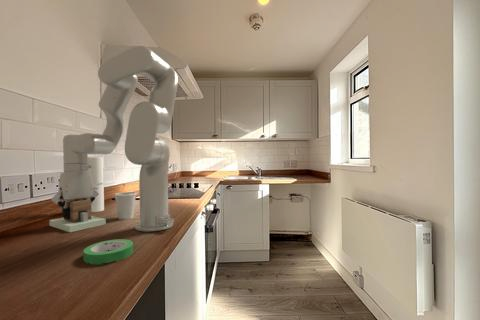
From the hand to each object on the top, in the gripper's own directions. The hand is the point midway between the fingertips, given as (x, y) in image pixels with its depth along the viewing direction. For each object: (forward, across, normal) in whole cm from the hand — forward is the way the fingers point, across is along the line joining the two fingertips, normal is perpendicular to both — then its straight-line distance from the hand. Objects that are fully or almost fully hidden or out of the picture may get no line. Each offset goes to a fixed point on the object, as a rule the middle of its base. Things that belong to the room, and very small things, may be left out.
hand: (76, 216), depth 94 cm
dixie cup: (+3, -16, +6) cm, 17 cm away
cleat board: (+3, 0, 0) cm, 3 cm away
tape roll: (+4, +10, +39) cm, 41 cm away
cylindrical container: (+3, -17, -20) cm, 27 cm away
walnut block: (+1, 0, +1) cm, 1 cm away
